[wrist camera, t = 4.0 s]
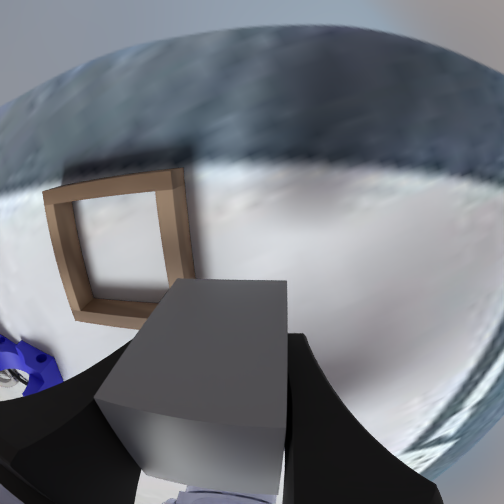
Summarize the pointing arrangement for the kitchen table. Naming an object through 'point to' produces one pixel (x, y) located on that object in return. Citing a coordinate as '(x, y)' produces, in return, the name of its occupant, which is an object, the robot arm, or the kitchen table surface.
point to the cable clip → (30, 365)
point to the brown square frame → (70, 256)
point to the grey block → (206, 386)
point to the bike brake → (13, 381)
